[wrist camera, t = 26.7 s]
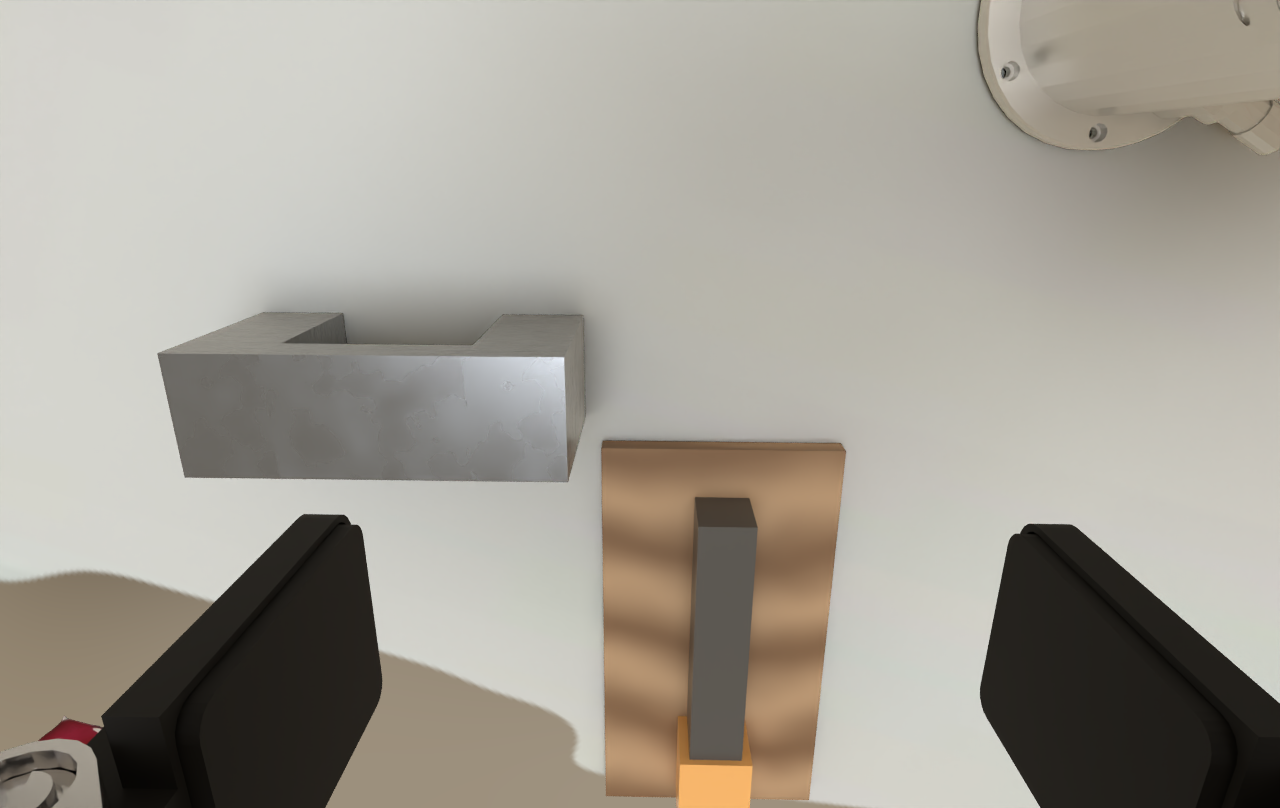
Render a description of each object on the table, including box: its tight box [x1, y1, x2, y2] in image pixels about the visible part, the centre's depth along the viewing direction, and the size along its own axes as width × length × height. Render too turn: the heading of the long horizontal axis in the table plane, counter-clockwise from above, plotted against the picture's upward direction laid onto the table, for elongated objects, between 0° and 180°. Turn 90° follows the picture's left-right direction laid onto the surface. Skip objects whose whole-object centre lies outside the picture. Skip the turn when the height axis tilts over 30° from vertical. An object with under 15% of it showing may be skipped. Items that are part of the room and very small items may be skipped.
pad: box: [601, 441, 846, 800], centre depth 46 cm, size 26×14×1 cm, turn 0°
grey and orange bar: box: [676, 497, 758, 808], centre depth 44 cm, size 23×4×4 cm, turn 0°
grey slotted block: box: [157, 312, 586, 482], centre depth 37 cm, size 6×18×9 cm, turn 90°
